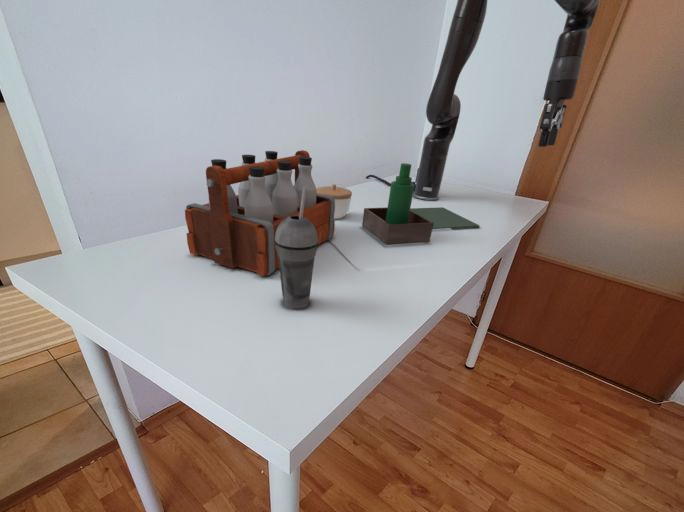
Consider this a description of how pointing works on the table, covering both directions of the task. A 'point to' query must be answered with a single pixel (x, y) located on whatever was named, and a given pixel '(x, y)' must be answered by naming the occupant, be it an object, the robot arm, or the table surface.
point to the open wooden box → (397, 227)
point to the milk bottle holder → (255, 210)
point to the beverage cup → (296, 257)
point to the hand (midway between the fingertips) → (546, 146)
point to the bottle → (400, 197)
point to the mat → (444, 218)
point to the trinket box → (337, 199)
